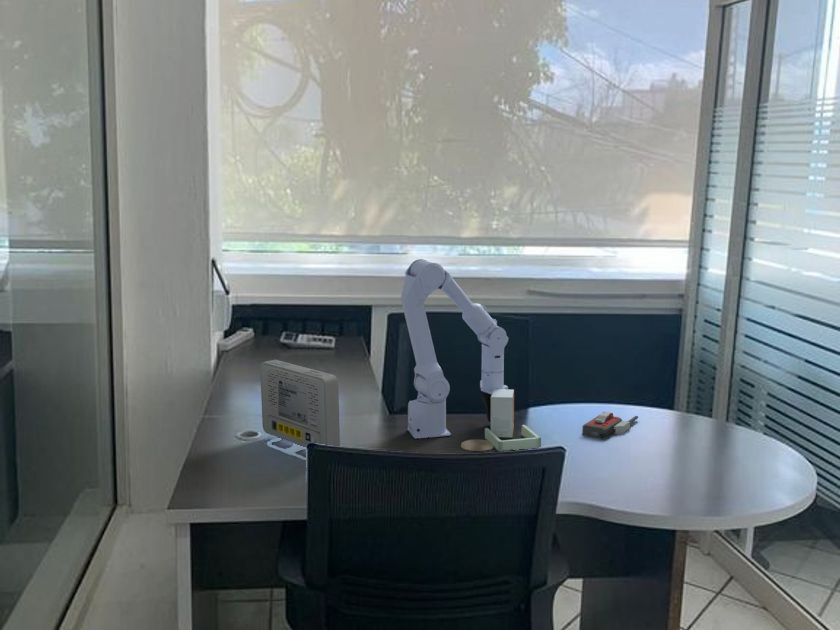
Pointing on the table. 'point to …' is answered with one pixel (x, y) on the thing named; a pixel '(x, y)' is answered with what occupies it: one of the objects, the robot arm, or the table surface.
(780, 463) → the table surface
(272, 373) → the network device
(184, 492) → the table surface
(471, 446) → the cork coaster
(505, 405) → the small box
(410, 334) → the robot arm
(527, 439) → the bracket
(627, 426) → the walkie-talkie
